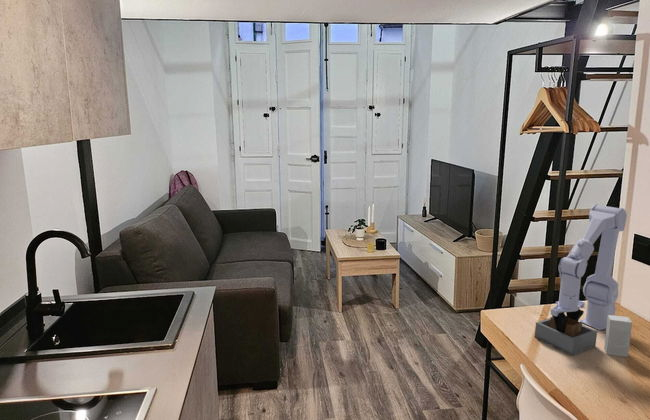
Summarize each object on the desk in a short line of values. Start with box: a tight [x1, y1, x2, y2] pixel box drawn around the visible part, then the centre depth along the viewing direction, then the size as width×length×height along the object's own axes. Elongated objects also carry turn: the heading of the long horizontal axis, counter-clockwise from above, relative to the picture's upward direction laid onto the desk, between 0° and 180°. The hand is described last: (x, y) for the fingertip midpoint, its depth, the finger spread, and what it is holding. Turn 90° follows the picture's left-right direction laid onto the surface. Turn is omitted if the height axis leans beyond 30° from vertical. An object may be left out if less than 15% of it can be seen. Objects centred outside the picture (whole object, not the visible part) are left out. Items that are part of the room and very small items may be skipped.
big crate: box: [534, 317, 598, 356], centre depth 158 cm, size 12×14×6 cm
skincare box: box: [603, 315, 633, 358], centre depth 150 cm, size 6×4×12 cm
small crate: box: [549, 316, 583, 338], centre depth 158 cm, size 5×8×6 cm, turn 27°
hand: (565, 331), depth 158 cm, fingers closed on small crate, 5 cm apart
